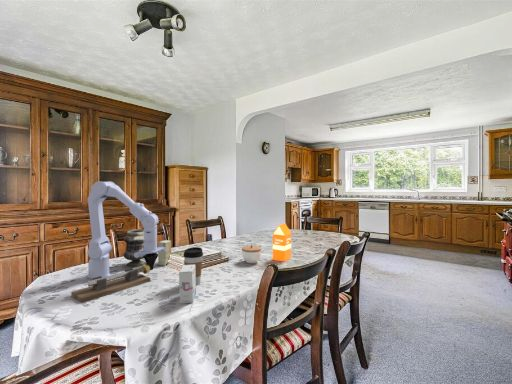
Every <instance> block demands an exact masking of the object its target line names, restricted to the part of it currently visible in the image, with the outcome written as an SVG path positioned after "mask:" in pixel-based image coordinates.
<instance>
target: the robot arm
mask: <svg viewBox="0 0 512 384" xmlns="http://www.w3.org/2000/svg"><path fill="white" fill-rule="evenodd" d="M108 197H113V198H116V199H117V200H119V201H120V202H121V203H122V204H124V205H125V206H126V207H127V208H129V213H131V214H132V215H133V216H134V217H136V218H137V220H138V221H140V223H141V226H142V227H143V230H144V250H142V251H139V252H135V253H134V257H136V258H138V257H140V256H143V257H144V262H146V263H148V264H149V266H150V271H153V270H154V266H155V263H156V261H157V260H158V252H162V251H163V252H164V251H165V247H158V225H157V224H158V223H159V222H160V221H159V217H158V215H157V214H156V213H153V211H151V210H148V209H147V208H146V207H145V204H144V203H140V202H136V201H134V200H133V199H132V198H131V197H129V195H128V194H127V193H125V192H124V190H122V188H121V187H120V186H119V185H117V184H116V183H115V182H114V181H110V180H109V181H96V182H95V183H93V185H91V186H90V192H89V195H88V197H87V206H88V212H89V213H88V214H89V223H90V232H91V239H90V241H89V242H88V248H87V249H88V250H87V256H88V258H89V260H88V262H87V263H88V264H87V265H88V267H87V268H88V270H87V271H88V274H87V275H86V276H85V277H87V278H89V279H90V280H92V278H95V277H99V276H101V277H102V278H103V277H107V276H110V275H113V273H110V253H111V252H112V249H113V246H112V244H111V242H110V238H109V237H108V236H107V234H106V228H105V227H106V225H105V217H104V210H103V202H104V201H105V200H106V199H107V198H108Z"/></svg>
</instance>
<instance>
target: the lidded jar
mask: <svg viewBox="0 0 512 384" xmlns="http://www.w3.org/2000/svg"><path fill="white" fill-rule="evenodd" d="M261 255H262V247H260V246H258V245H253V244H250V245H245V246H242V248H241V256H242V258H243V260H244V261H245V262H246V263H247V264H256V263H257V262H258V261H259V259H261Z"/></svg>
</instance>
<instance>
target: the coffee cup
mask: <svg viewBox="0 0 512 384" xmlns="http://www.w3.org/2000/svg"><path fill="white" fill-rule="evenodd" d="M183 252H184V253H183V254H182V255H183V258H184V260H183V263H184V264H183V265H195V275H196V286H199V285H201V280H202V279H201V278H202V267H203V256H204V253H203V248H201V247H198V246H195V247H188V248H186V249H184V251H183Z"/></svg>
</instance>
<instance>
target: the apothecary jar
mask: <svg viewBox="0 0 512 384" xmlns="http://www.w3.org/2000/svg"><path fill="white" fill-rule="evenodd" d="M123 241H124V242H125V244H126V249H125V251H124V252H123V258H125V260H127V261H129V262H126V264H125V266H126V267H128V268H137V267H138V268H140V267H142V265H143V264H146V261H145V259H144V257H143V256H140V257H138V258H136V257H134V253H135V252H139V251H142V250H144V229H132V230H128V231H127V233H126V235H124V237H123ZM143 259H144V260H143Z"/></svg>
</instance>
